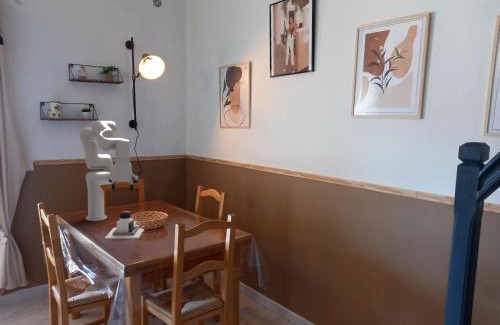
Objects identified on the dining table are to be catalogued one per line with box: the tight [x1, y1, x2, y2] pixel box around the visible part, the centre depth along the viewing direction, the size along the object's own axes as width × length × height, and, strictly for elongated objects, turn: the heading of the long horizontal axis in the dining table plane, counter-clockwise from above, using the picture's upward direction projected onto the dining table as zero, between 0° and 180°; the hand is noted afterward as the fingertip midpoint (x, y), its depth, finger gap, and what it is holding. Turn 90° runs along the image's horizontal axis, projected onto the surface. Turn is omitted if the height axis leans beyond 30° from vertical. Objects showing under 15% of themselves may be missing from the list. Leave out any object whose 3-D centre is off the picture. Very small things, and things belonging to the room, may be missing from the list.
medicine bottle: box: [116, 210, 135, 233], centre depth 197 cm, size 7×7×12 cm
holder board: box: [104, 226, 145, 240], centre depth 197 cm, size 18×18×2 cm
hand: (122, 190), depth 195 cm, fingers open, 9 cm apart
